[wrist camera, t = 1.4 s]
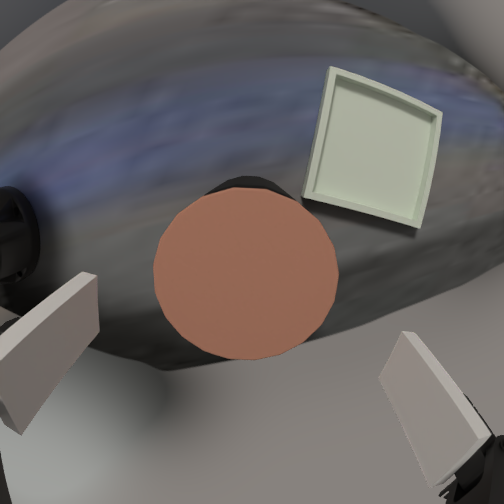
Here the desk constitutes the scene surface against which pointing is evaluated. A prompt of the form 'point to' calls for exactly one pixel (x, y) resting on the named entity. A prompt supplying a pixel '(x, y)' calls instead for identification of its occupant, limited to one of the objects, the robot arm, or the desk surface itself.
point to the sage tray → (372, 149)
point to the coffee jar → (245, 271)
